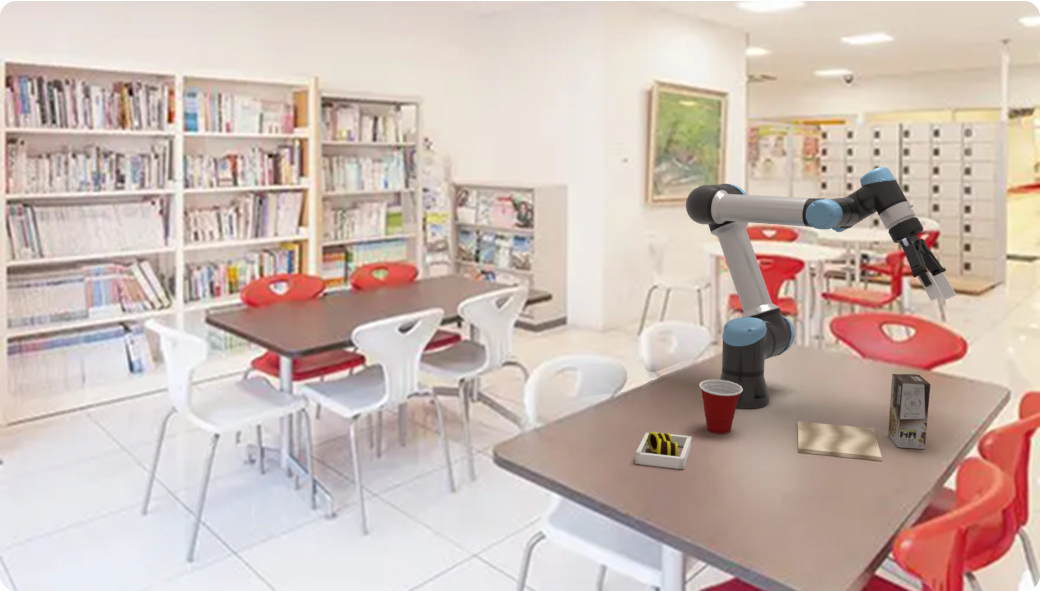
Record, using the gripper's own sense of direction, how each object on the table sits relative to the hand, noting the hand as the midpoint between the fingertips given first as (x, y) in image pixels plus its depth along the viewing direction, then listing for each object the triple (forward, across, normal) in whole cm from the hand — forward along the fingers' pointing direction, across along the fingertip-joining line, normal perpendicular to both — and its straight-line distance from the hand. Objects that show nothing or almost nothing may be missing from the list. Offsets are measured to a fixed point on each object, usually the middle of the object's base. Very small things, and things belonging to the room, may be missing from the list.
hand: (944, 297), depth 190 cm
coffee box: (+29, -8, +22) cm, 37 cm away
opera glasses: (+11, -53, +59) cm, 81 cm away
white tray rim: (+11, -53, +59) cm, 80 cm away
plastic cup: (+10, -30, +56) cm, 64 cm away
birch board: (+22, -19, +33) cm, 44 cm away
